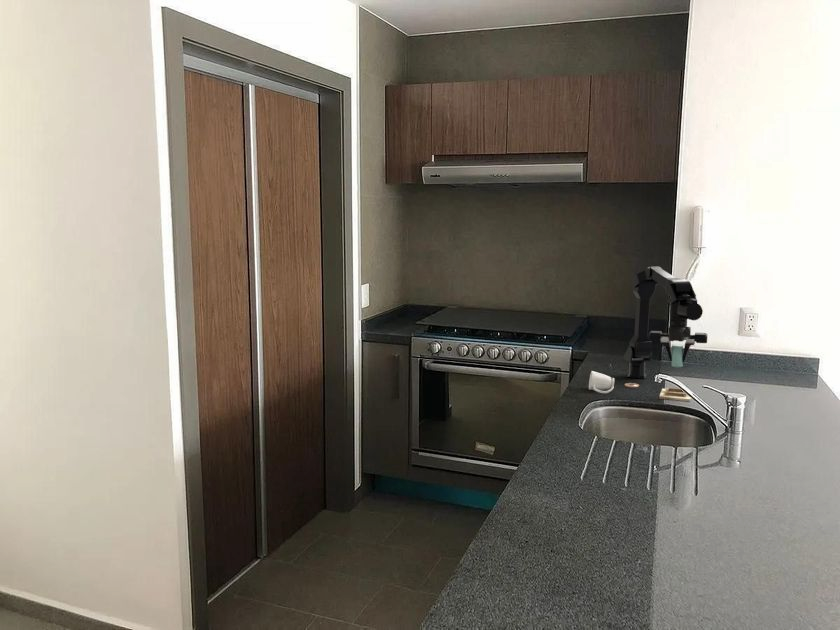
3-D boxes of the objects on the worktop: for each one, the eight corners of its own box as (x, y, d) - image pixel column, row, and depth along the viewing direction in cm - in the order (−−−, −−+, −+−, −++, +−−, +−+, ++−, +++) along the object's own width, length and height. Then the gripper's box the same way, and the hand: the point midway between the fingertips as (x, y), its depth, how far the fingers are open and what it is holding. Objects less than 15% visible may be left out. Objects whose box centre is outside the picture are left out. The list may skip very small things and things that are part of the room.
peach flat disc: (625, 383, 262) (625, 382, 262) (639, 384, 260) (639, 383, 260) (623, 386, 257) (623, 385, 257) (637, 387, 255) (637, 386, 255)
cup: (614, 370, 254) (592, 366, 255) (616, 385, 245) (592, 382, 246) (610, 386, 257) (588, 382, 258) (612, 402, 249) (588, 398, 250)
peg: (671, 364, 245) (672, 344, 244) (682, 365, 243) (683, 345, 242) (671, 366, 241) (671, 346, 240) (682, 367, 240) (682, 347, 239)
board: (662, 390, 251) (662, 385, 251) (692, 393, 247) (692, 388, 247) (659, 398, 240) (659, 393, 240) (690, 401, 236) (690, 396, 236)
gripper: (647, 318, 237) (646, 364, 238) (707, 320, 229) (705, 367, 231) (650, 314, 247) (649, 358, 249) (708, 316, 239) (706, 361, 241)
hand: (677, 361), depth 242 cm, fingers closed on peg, 4 cm apart
